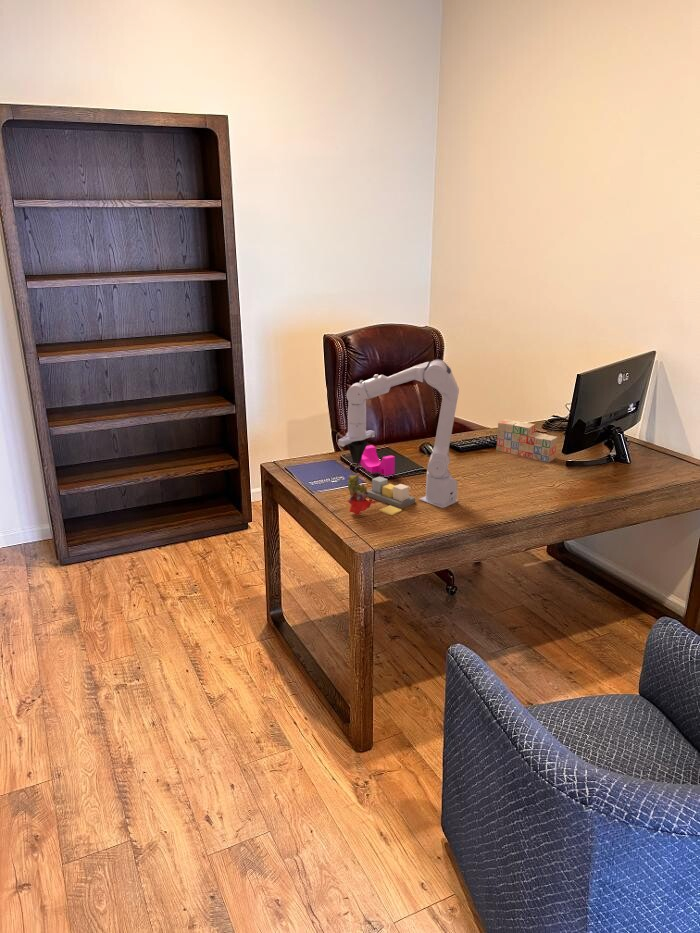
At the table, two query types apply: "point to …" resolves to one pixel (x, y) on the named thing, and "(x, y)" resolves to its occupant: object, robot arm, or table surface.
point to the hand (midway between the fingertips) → (356, 462)
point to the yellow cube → (387, 490)
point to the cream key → (401, 492)
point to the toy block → (377, 462)
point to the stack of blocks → (525, 441)
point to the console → (390, 499)
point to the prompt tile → (390, 510)
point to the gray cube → (378, 484)
